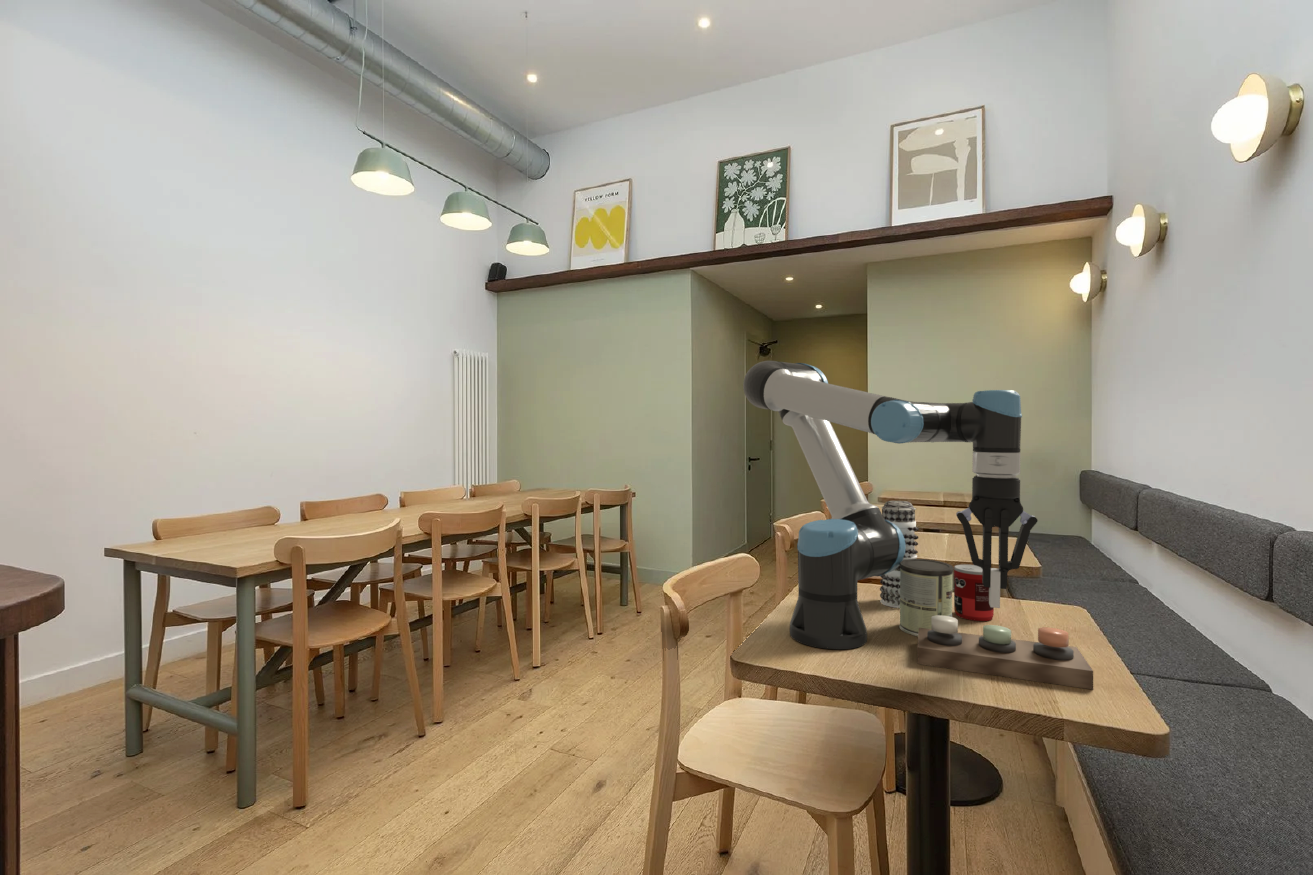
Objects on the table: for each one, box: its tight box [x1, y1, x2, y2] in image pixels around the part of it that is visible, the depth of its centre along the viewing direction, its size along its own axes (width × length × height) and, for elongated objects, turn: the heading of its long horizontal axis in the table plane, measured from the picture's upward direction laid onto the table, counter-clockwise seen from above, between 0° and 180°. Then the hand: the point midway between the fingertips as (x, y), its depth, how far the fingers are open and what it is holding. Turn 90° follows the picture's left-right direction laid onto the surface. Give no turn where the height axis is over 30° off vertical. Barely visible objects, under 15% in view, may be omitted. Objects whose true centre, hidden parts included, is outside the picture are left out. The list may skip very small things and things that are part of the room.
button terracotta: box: [1037, 626, 1070, 647], centre depth 103 cm, size 4×4×2 cm
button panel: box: [916, 628, 1094, 690], centre depth 106 cm, size 26×12×4 cm, turn 65°
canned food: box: [953, 564, 995, 622], centre depth 134 cm, size 8×8×11 cm
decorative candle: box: [879, 500, 920, 609], centre depth 145 cm, size 9×9×25 cm
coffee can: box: [898, 558, 954, 637], centre depth 125 cm, size 10×10×14 cm
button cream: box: [931, 615, 959, 634], centre depth 110 cm, size 4×4×2 cm
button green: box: [982, 624, 1012, 644], centre depth 106 cm, size 4×4×2 cm
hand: (994, 605), depth 107 cm, fingers closed
